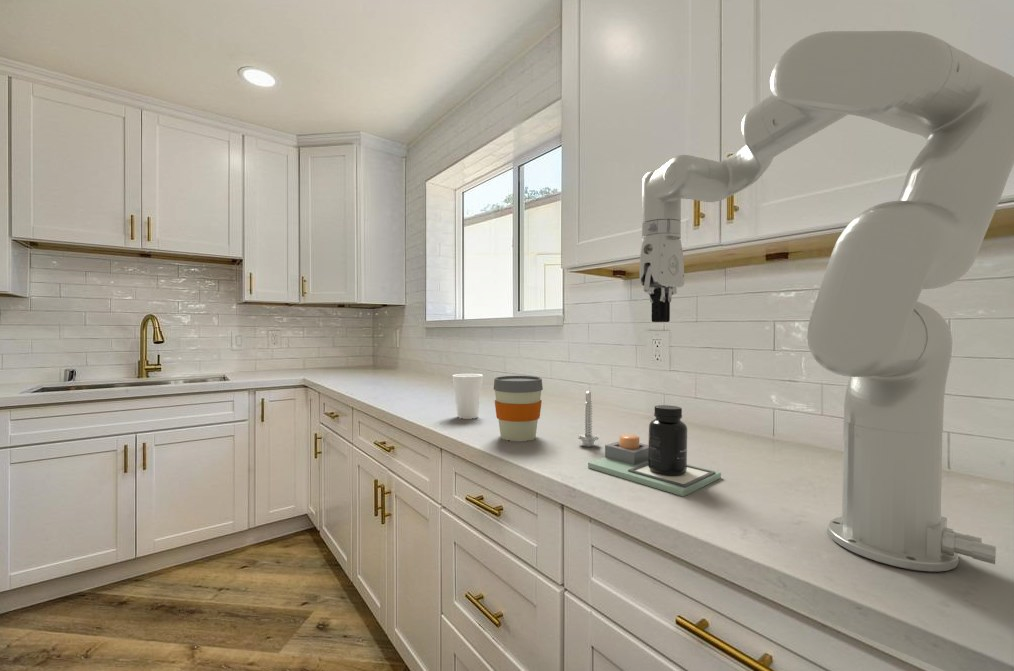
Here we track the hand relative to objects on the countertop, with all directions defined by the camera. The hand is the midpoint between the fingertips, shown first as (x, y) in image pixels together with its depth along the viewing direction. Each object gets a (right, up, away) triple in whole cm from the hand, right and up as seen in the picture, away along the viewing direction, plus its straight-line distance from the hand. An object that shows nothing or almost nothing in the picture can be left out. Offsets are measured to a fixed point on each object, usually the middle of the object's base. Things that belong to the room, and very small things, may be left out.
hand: (660, 321), depth 92 cm
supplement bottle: (-2, -28, -8) cm, 30 cm away
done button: (-6, -28, 0) cm, 29 cm away
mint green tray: (-4, -29, -6) cm, 30 cm away
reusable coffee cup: (-29, -29, +22) cm, 46 cm away
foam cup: (-44, -28, +47) cm, 70 cm away
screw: (-12, -29, +14) cm, 34 cm away
